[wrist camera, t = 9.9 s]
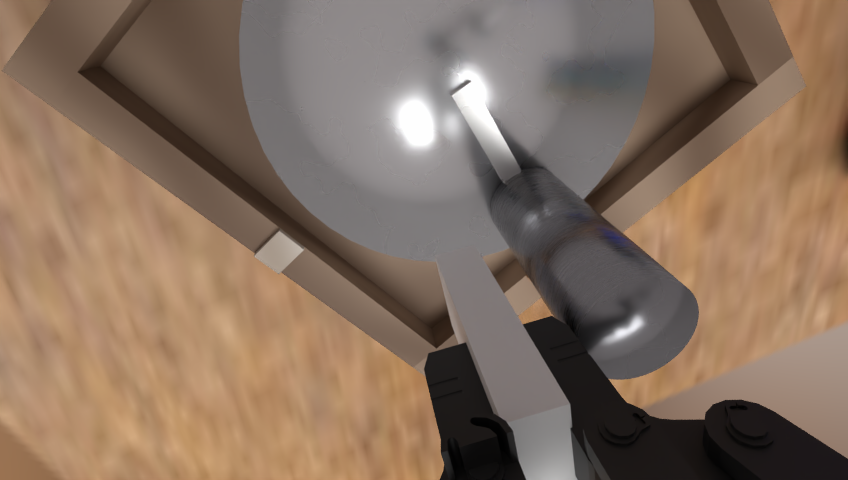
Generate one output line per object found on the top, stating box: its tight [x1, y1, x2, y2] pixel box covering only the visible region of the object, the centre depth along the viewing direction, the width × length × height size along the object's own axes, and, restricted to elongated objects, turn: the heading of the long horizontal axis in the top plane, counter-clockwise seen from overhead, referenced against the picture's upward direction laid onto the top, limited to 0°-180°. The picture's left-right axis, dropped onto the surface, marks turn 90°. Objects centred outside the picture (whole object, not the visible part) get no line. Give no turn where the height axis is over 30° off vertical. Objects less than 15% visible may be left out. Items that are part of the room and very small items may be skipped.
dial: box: [239, 0, 699, 379], centre depth 13 cm, size 14×14×10 cm
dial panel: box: [2, 0, 806, 376], centre depth 18 cm, size 20×20×4 cm
